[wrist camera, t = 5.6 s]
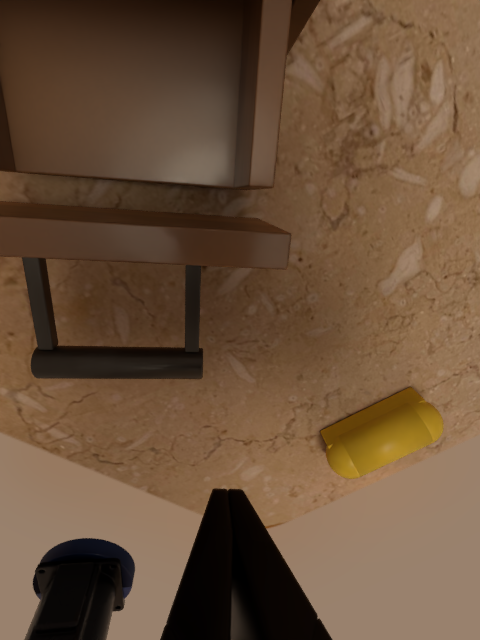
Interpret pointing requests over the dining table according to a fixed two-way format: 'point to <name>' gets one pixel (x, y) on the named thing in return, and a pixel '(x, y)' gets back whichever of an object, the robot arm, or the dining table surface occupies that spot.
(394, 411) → the yellow rounded block
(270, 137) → the drawer
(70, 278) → the dining table surface
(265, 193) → the dining table surface
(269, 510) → the dining table surface
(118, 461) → the dining table surface
